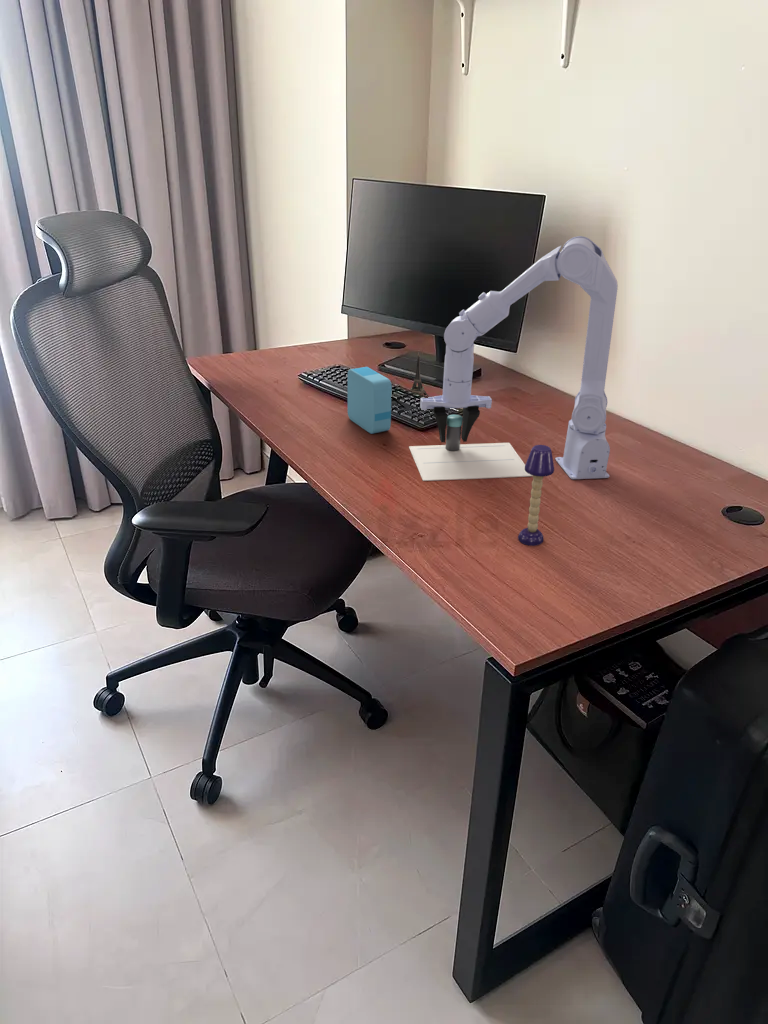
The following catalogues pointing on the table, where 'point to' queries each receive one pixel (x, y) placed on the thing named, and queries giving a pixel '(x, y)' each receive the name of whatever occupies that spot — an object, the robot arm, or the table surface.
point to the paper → (468, 462)
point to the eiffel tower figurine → (418, 380)
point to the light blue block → (369, 399)
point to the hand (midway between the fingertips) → (453, 440)
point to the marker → (453, 432)
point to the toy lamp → (536, 491)
